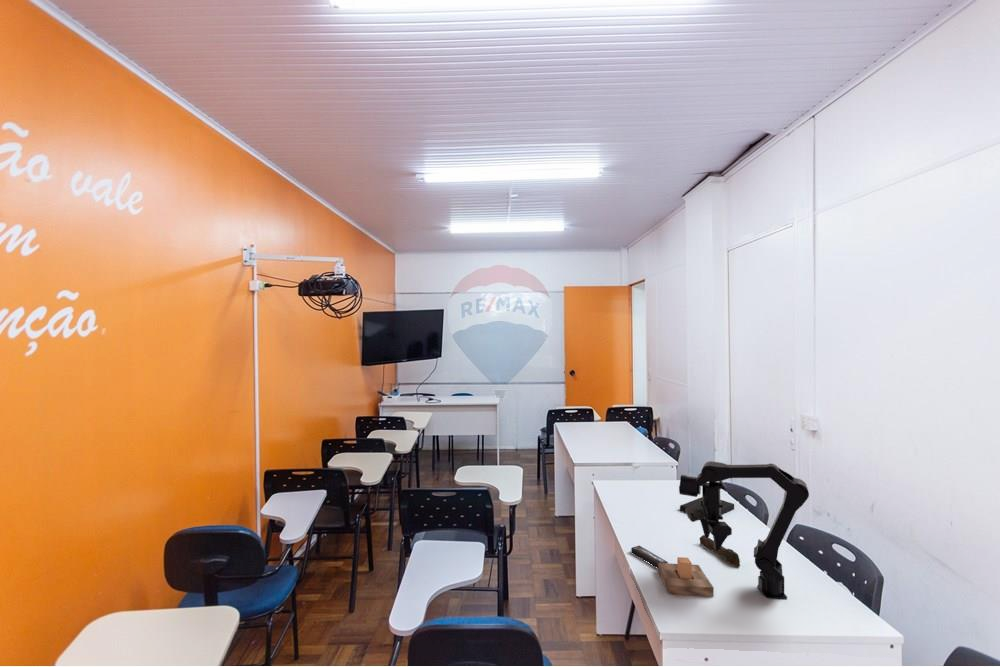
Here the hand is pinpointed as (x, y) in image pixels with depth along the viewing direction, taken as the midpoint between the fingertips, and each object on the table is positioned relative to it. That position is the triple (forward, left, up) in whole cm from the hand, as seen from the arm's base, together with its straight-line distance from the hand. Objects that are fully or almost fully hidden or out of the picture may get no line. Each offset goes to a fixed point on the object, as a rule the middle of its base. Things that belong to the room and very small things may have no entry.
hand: (711, 543), depth 155 cm
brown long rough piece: (-10, -17, -12) cm, 23 cm away
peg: (+11, +5, -12) cm, 17 cm away
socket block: (+11, +5, -12) cm, 17 cm away
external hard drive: (-20, -61, -13) cm, 65 cm away
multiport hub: (+19, -10, -13) cm, 25 cm away
